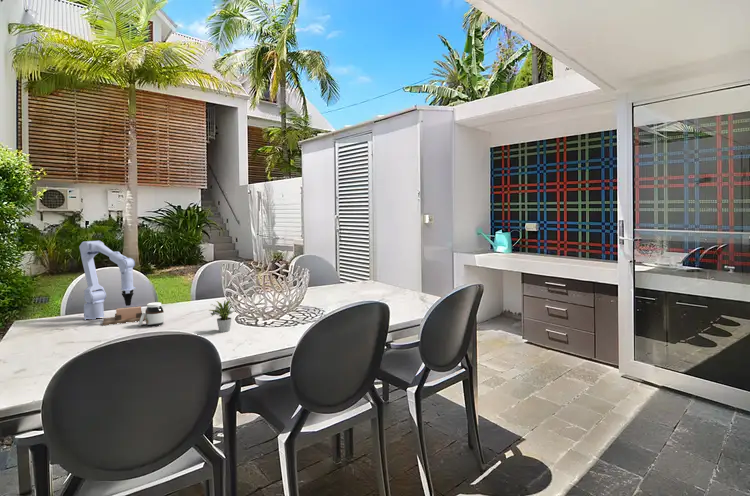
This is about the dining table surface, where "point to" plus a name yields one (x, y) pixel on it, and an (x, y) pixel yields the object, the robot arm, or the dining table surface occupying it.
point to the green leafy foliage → (223, 305)
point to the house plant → (223, 316)
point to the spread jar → (153, 315)
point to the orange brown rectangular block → (128, 312)
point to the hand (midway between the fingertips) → (128, 304)
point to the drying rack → (118, 319)
